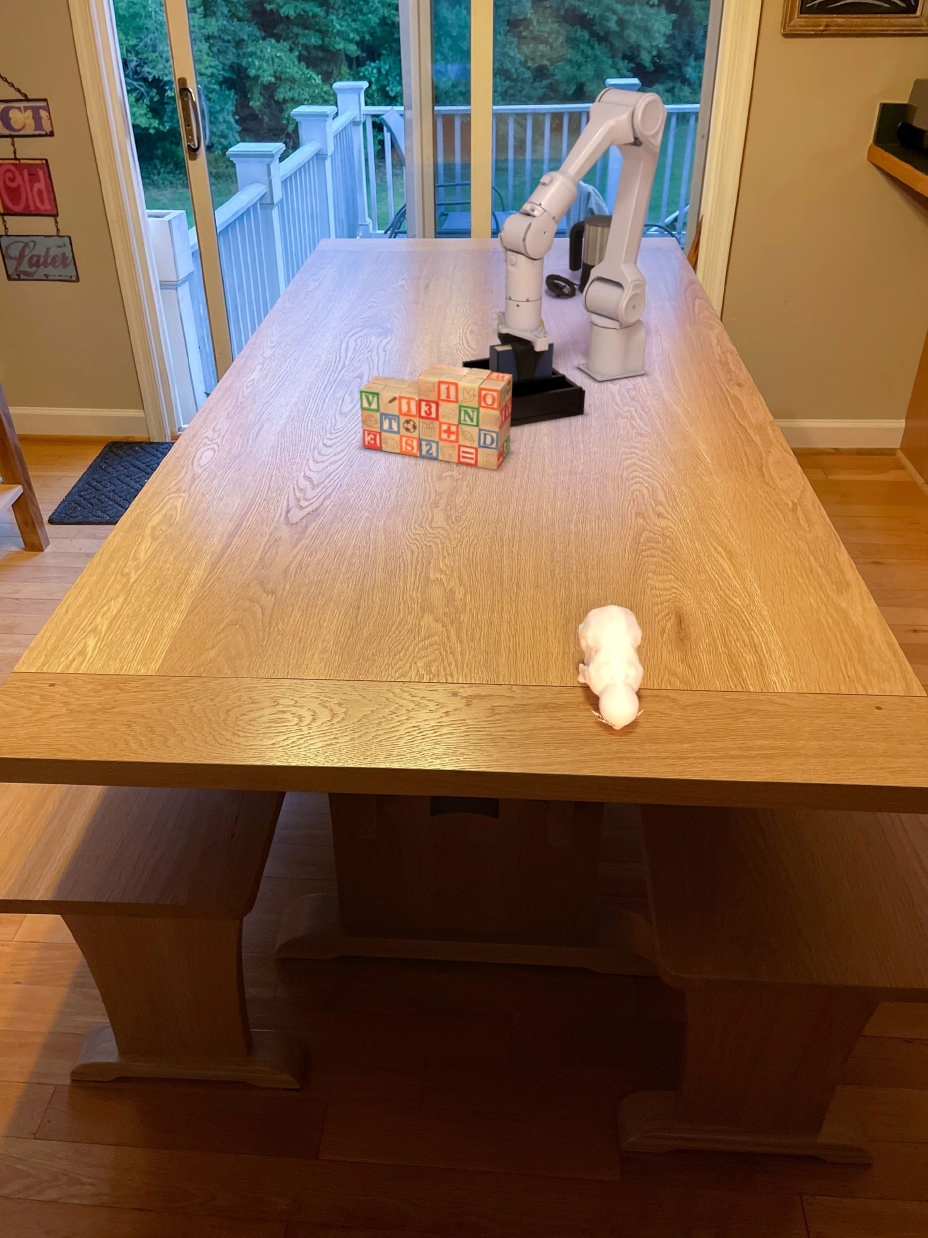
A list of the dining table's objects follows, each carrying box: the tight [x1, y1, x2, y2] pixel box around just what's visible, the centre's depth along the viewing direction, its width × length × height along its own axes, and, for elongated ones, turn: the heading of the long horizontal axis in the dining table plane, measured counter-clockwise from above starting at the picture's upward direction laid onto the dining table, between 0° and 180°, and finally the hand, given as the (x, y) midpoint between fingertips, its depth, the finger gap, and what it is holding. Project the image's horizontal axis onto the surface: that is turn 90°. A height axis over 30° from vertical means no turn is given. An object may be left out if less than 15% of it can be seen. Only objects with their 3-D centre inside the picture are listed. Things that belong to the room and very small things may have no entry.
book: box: [488, 341, 554, 382], centre depth 157 cm, size 10×3×8 cm, turn 113°
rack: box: [461, 357, 586, 428], centre depth 159 cm, size 14×19×4 cm
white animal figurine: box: [577, 604, 645, 730], centre depth 94 cm, size 6×8×12 cm
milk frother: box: [544, 214, 617, 298], centre depth 206 cm, size 14×16×15 cm
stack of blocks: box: [359, 363, 512, 470], centre depth 141 cm, size 21×6×12 cm, turn 71°
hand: (520, 380), depth 159 cm, fingers closed on book, 3 cm apart
